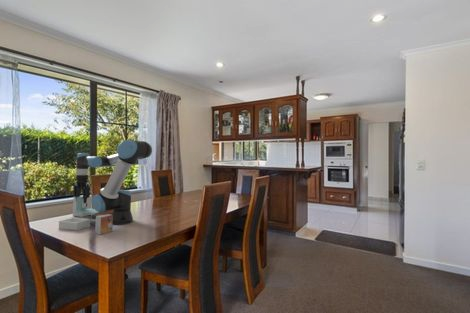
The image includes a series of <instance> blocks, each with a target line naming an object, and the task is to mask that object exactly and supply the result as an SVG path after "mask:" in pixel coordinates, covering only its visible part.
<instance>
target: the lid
mask: <svg viewBox="0 0 470 313" xmlns="http://www.w3.org/2000/svg"><path fill="white" fill-rule="evenodd" d="M82 199H83V196H82V195H80V197H77V204H76V211H77V213H84V214H91V215H94V216H96V215H98V214H102V213H106V211H102V212H98V211H96V210H95V209H94V208H91V209H90V208H89V209H86V207H84V208H82Z"/></svg>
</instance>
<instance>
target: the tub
mask: <svg viewBox="0 0 470 313" xmlns="http://www.w3.org/2000/svg"><path fill="white" fill-rule="evenodd" d="M90 219H91V218H84V217H75V216H73V217H70V218H69V217H68V218H65V219H61V220H59V221H58V230H63V231H64V230H66V231H75V232H78V231H82V230H84V229H87V228H90V227H91V225H90Z"/></svg>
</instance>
